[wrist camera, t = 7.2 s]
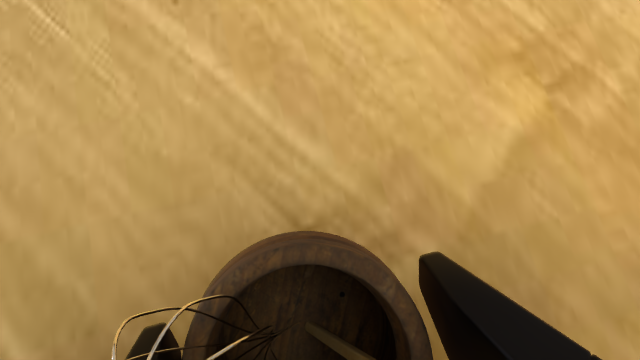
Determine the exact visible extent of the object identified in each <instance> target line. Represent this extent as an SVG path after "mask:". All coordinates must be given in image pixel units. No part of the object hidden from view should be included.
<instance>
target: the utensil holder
mask: <svg viewBox="0 0 640 360" xmlns="http://www.w3.org/2000/svg"><path fill="white" fill-rule="evenodd" d="M199 302H200V303H199ZM196 303H199V306H198V308H197V310H196V309H192V308H188V307H189V306H191V305H194V304H196ZM166 310H179V311H178V312H177V313H176V314H175V315H174V316H173V317H172V319H171V320H170V321H169V322H168V324H167V325H166V326H165V328H164V329H163V331H162V332H161V334H160V335H159V337H158V339H157V340H156V342H155V344H154V346H153V348H152V350H151V352H150V353H147V354H143V355H140V356H137V357H133V358H130V359H127V360H137V359H140V358H143V357H147V356H148V358H147V360H151V359H152V357H153V355H154V354H159V353H164V352H170V351H177V350H183V355H182V360H433V356H432V349H431V345H430V340H429V337H428V333H427V330H426V327H425V325H424V322H423V320H422V317H421V315H420V313H419V311H418V309H417V307H416V305H415V304H414V302H413V300H412V299H411V297H410V295H409V294H408V293H407V291H406V290H405V288H404V287H403V286H402V285H401V283H400V282H399V281H398V279H397V278H396V276H395V275H394V274H393V273H392V271H391V270H390V269H389V268H388V267H387V266H386V265H385V264H384V263H383V262H382V261H381V260H380V259H379V258H378V257H376V256H375V255H374V254H372V253H371V252H370V251H368V250H367V249H365V248H364V247H362V246H360V245H358V244H357V243H355V242H353V241H350V240H348V239H346V238H343V237H340V236H337V235H333V234H329V233H323V232H315V231H297V232H289V233H283V234H279V235H275V236H272V237H269V238H266V239H264V240H262V241H259V242H257V243H255V244H253V245H251V246H250V247H248V248H247V249H245V250H243V251H242V252H241V253H239V254H238V255H236V256H235V257H234V258H233V259H232V260H231V261H229V262H228V263H227V264H226V265H225V266H224V267H223V268H222V270H221V271H220V272H219V273H218V274H217V275H216V277H215V278H214V279H213V281H212V282H211V283H210V285H209V287H208V288H207V290H206V291H205V293H204V295H203V297H202V299H197V300H195V301H192V302H190V303H188V304H186V305H185V306H184V307H167V308H161V309H156V310H151V311H147V312H142V313H139V314H136V315H133V316H130V317H129V318H127V319H126V320H125V321H124V322H123V323H122V324H121V325H120V327H119V328H118V330H117V332H116V334H115V337H114V341H113V346H112V360H116V346H117V341H118V337H119V335H120V332H121V330H122V329H123V327H124V326H125V324H127V323H128V322H129V321H130V320H132V319H134V318H137V317H140V316H144V315H148V314H152V313H156V312H161V311H166ZM184 310H188V311H193V312H196V313H195V315H194V318H193V320H192V323H191V325H190V328H189V331H188V334H187V337H186V341H185V345H184V347H180V348H172V349H166V350H160V351H156V349H157V347H158V345H159V343H160V341H161V339H162V338H163V336H164V334H165V333H166V331H167V330H168V328H169V327H170V326H171V324H172V323H173V322H174V321H175V319H176V318H177V317H178V316H179V315H180V314H181V313H182V312H183V311H184Z"/></svg>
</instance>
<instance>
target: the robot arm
mask: <svg viewBox="0 0 640 360" xmlns="http://www.w3.org/2000/svg"><path fill="white" fill-rule="evenodd" d="M419 285H420V289H421V292H422V295H423V297H424V300H425V302H426V305H427V307H428V310H429V312H430V314H431V317H432V319H433V322H434V324H435V327H436V329H437V332H438V334H439V337H440V339H441V342H442V344H443V347H444V349H445V351H446V354H447V356H448V358H449V360H602V359H600V358H599V357H597V356H596V355H591V353H590V352H589V351H588V350H586V349H585V348H583V347H582V346H580V345H579V344H577V343H576V342H574V341H573V340H571V339H570V338H568V337H567V336H565V335H564V334H562V333H561V332H559V331H558V330H556V329H555V328H553V327H552V326H550V325H549V324H547V323H546V322H544V321H543V320H541V319H540V318H538V317H537V316H535V315H534V314H532V313H531V312H529V311H528V310H526V309H525V308H523V307H522V306H520V305H519V304H517V303H516V302H514V301H513V300H511V299H510V298H508V297H507V296H505V295H504V294H502V293H501V292H499V291H498V290H496V289H495V288H493V287H492V286H490V285H489V284H487V283H486V282H484V281H483V280H481V279H480V278H478V277H477V276H475V275H474V274H472V273H470V272H469V271H467V270H466V269H464V268H463V267H461V266H460V265H458V264H457V263H455V262H454V261H452V260H451V259H449V258H448V257H446V256H445V255H443V254H442V253H440V252H431V253H428V254H424V255H421V256H420V258H419ZM166 325H167V324H166V323H159V324H155V325H151V326H148V327H146V328H144V329H143V331H142V332H141V334H140V336H139V337H138V339H137V340H136V342H135V344H134V345H133V347H132V349H131V350H130V352H129V354H128V355H127V357H126V359H125V360H127V359H130V358H133V357H137V356H140V355H143V354H147V353H150V352H151V350H152V348H153V346H154V344H155V342H156V340H157V339H158V337H159V335H160V334H161V332H162V331H163V329H164V328H165V326H166ZM172 348H179V345H178V343H177V341H176V339H175V338H174V336H173V334H172V332H171V330H170V328H168V330H167V331H166V333H165V334H164V336H163V338H162V339H161V341H160V343H159V345H158V347H157V349H156V351H160V350H166V349H172ZM147 358H148V356H147V357H143V358H140V359H137V360H147ZM151 360H182V359H181V351H180V350H177V351H170V352H164V353H159V354H154V355H153V357H152V359H151Z"/></svg>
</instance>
